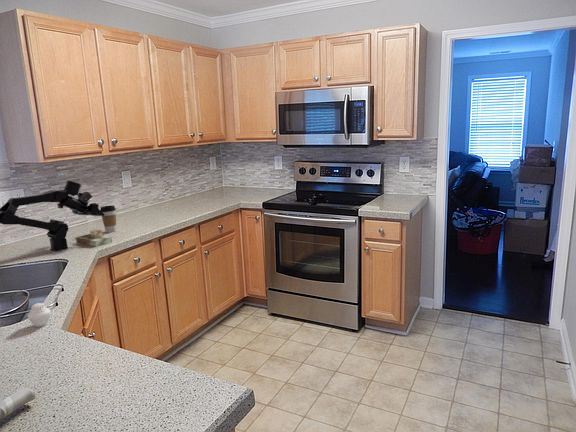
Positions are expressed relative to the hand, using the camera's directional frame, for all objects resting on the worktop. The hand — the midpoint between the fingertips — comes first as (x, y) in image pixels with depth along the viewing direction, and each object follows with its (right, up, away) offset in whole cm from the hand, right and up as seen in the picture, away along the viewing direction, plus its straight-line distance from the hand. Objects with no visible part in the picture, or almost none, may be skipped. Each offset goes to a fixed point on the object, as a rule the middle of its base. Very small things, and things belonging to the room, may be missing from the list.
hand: (99, 214), depth 234 cm
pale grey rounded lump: (+26, -34, -101) cm, 110 cm away
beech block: (+3, -12, -9) cm, 15 cm away
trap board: (0, -15, -6) cm, 16 cm away
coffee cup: (0, -10, +17) cm, 20 cm away
